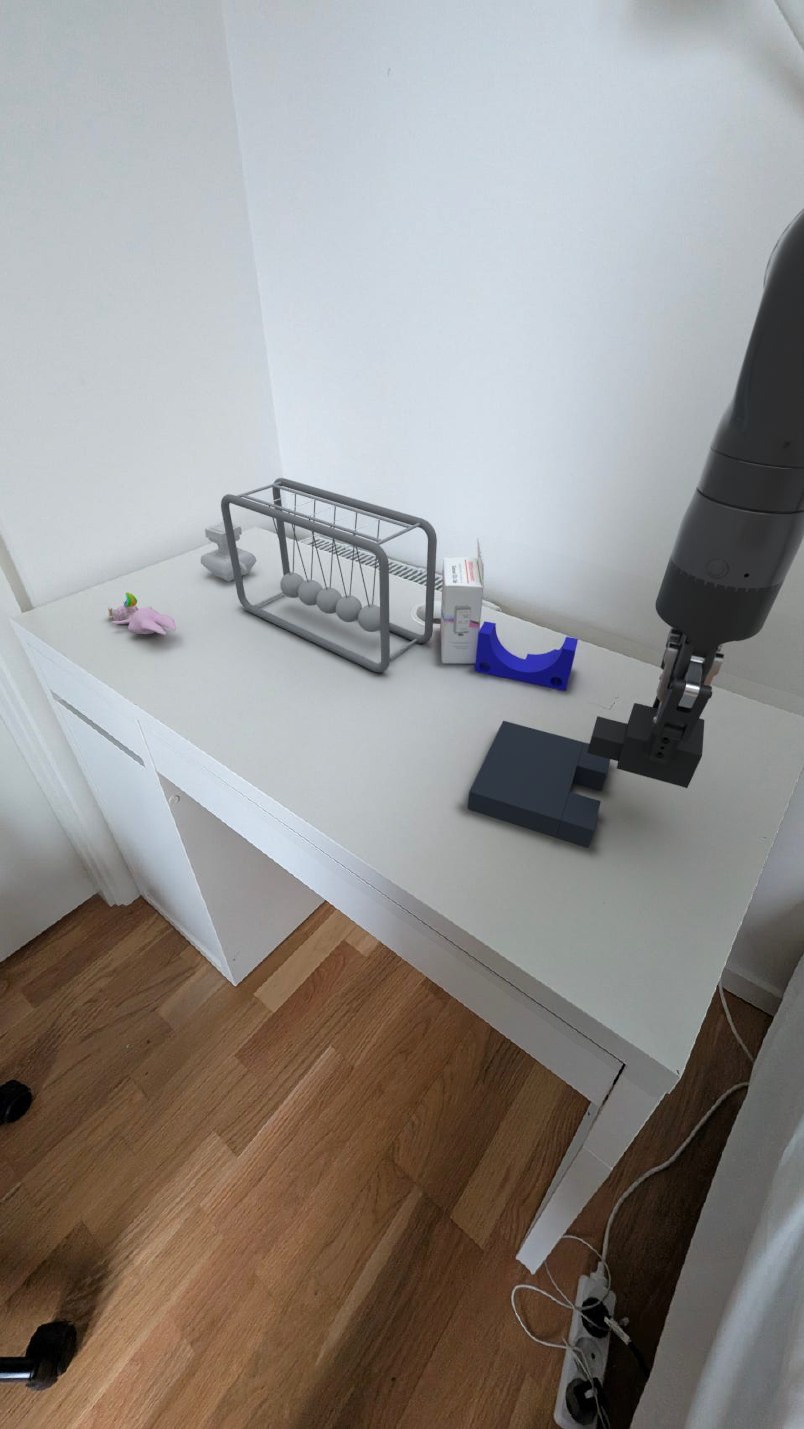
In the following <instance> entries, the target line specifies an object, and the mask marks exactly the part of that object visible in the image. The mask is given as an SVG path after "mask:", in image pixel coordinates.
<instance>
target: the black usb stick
mask: <svg viewBox="0 0 804 1429" xmlns="http://www.w3.org/2000/svg"><path fill="white" fill-rule="evenodd" d="M657 710H658V708H654V707H653V706H650V705H646V704H642V703H637V702H634V703H633V705H632V708H631V712H630V715H629V718H628V721H627V723H626V722H622V721H618V720H614V719H611V718H606V717H602V716H598V715H597V716H596V719H595V723H594V726H593V729H592V733H591V737H590V740H589V747H588V751H587V753H589V754H593V755H596V756H600V757H604V758H607V759H610V761H615V762H617V764H616V769H617V770H620V771H624V772H627V773H630V774H634V775H638V776H643V777H646V778H649V779H653V780H655V781H660V782H663V783H667V784H671V785H674V786H678V787H682V788H685V789H688V788H689V786H690V783H691V781H692V779H693V777H694V775H695V772H696V771H697V768H698V766H699V764H700V762H701V759H702V757H703V752H704V750H703V749H704V736H705V735H704V734H705V720H706V719H704V718H701V717H700V718H699V719H698V721H697V723H696V725H695V727H694V729H693V731H692V734H691V737H690V738H689V739H688V741H687V742H683V741H679V744H678V746H677V748H676V751H675V753H674V755H673V758H672V760H671V762H670V764H668V765H663V764H659V763H655V762H652V761H648V760H646V759H645V758H644V757H643V754H644V749H645V747H646V744H647V741H648V738H649V736H650V733H651V730H652V728H653V724H654V722H652V721H653V718H654V716H655V717H656V714H657Z"/></svg>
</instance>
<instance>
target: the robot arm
mask: <svg viewBox="0 0 804 1429" xmlns="http://www.w3.org/2000/svg"><path fill="white" fill-rule="evenodd" d="M761 294H762V295H761V298H760V301H759V305H758V309H757V311H756V315H755V320H754V322H753V326H752V329H751V333H750V336H749V340H748V343H747V346H746V349H745V353H744V356H743V360H742V363H741V367H740V370H739V374H738V377H737V379H736V384H735V388H734V391H733V394H732V397H731V399H730V400H729V402H728V403H727V405H726V407H725V409H724V410H723V412H722V414H721V416H720V418H719V421H718V423H717V426H716V428H715V430H714V433H713V436H712V438H711V439H712V440H711V442H710V445H709V447H708V450H707V453H706V456H705V460H704V462H703V466H702V469H701V472H700V475H699V477H698V478H699V479H698V481H697V485H696V488H695V490H694V493H693V495H692V497H691V499H690V502H689V504H688V505H687V508H686V510H685V512H684V514H683V516H682V519H681V522H680V525H679V528H678V530H677V535H676V538H675V540H674V544H673V545H672V546H673V547H672V550H671V553H670V556H669V558H668V562H667V564H666V568H665V573H664V574H663V578H662V580H661V584H660V587H659V591H658V594H657V598H656V600H655V611H656V614H657V615H658V616H659V618H660V619H661V620H662V621H663V622H664V623H665V624H666V625H668V626H669V627H670V629H669V631H668V635H667V638H666V642H665V650H664V652H663V655H662V659H661V663H660V669H661V670H662V673H660V675H659V678H658V680H659V683H658V686H657V689H656V696H655V699H654V702H653V703H652V707H654V708H658V710H657V714H656V717H655V716H654V718H653V721H652V722H654V724H653V728H652V730H651V733H650V736H649V738H648V741H647V744H646V747H645V749H644V754H643V757H644V758H645V759H646V760H648V761H652V762H655V763H659V764H663V765H668V764H670V762H671V760H672V758H673V755H674V753H675V751H676V748H677V746H678V744H679V741H683V742H687V741H688V739H689V738H690V737H691V734H692V731H693V729H694V727H695V725H696V723H697V721H698V719H699V718H700V719H701V715H703V714H702V713H703V712H704V709H705V708H706V706H707V704H708V702H709V701H710V699H712V696H713V691H712V689H713V686H711V685H712V682H713V679H714V677H715V676H717V675H719V673H720V671H721V668H722V666H723V662H724V659H725V653H724V652H721V650H722V649H723V646H724V644H726V643H732V642H740V641H741V642H742V641H745V640H749V639H750V638H753V637H754V636H756V635H758V634H759V633H760V632H761V631H762V629H763V627H764V625H765V623H766V621H767V618H768V616H769V614H770V612H771V610H772V608H773V606H774V604H775V601H776V600H777V598H778V596H779V593H780V590H781V588H782V587H783V584H784V582H785V580H786V578H787V575H788V573H789V571H790V570H791V567H792V564H793V562H794V560H795V559H796V557H797V554H798V552H799V549H800V547H801V544H802V542H803V539H804V207H803V208H802V209H801V210H800V211H799V212H798V213H797V214H796V216H794V217H793V219H792V220H791V221H790V222H789V223H788V225H787V226H786V227H785V228H784V230H783V231H782V233H781V235H780V236H779V238H778V239H777V241H776V243H775V245H774V246H773V248H772V251H771V252H770V255H769V258H768V260H767V263H766V266H765V270H764V276H763V284H762V293H761Z"/></svg>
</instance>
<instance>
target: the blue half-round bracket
mask: <svg viewBox="0 0 804 1429" xmlns="http://www.w3.org/2000/svg"><path fill="white" fill-rule="evenodd" d="M496 625H497V623H496V622H491V621H486V620H485V621H483V623H482V624H481V626H480V630H479V633H478V643H477V653H476V663H474V664H475V665H474V672H476V673H479V674H480V673H482V674H484V675H490V676H494V677H499V678H503V679H508V680H513V681H518V682H522V683H527V684H531V685H536V686H541V687H545V688H550V689H555V690H559V691H564V692H566V691H567V687H568V684H569V680H570V676H571V674H572V669H573V665H574V661H575V655H576V650H577V646H578V641H579V638H575V637H570V636H565V639H564V641H563V643H562V645H561V646H560V648H559V649H556V648H555V649H552V650H550V651H547V652H544V653H539V654H535V653H527V654H526V657H525V659H524V658H521V657H518V656H516V655H514V654H513V653H512V652H510V651H509V650H508V649H506V648H505V647H504V646H503V644H502V643H501V641H500V640H499V637H498V634H497V628H496V627H497V626H496Z"/></svg>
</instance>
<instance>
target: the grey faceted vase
mask: <svg viewBox="0 0 804 1429" xmlns="http://www.w3.org/2000/svg"><path fill="white" fill-rule="evenodd" d="M232 525H233V531H234V536H235V542H238V541H240V539H241V537H240V536H241V535H243V533H242V526H241V525H239V524H235V523H232ZM204 534H205V535H204V536H205V538H207V539H208V541H209V542H212V543H214V544H216V545H217V549H215V550H211V551H210V552H207V553H205V554H202V555H201V556H200V564H201V565H202V566H203V567H204V568H206V569H207V571H209V572H210V573H211V574H212V575H214V576H216V577H218V578H220V579H223V580H225V581H227V582H231V581H233V580H235V579H234V574H233V568H232V563H231V558H230V553H229V547H228V542H227V537H226V532H225V526H224V521H221V522H220V523H217V524H214V525H211V526H209V527H206V528H204ZM237 553H238V558H239V564H240V569H241V575H242V576H245V575H247V574H249V573H250V572H251V570H252V569H253V567H254V566H255V564H256V562H257V557H256V556H255V554H253V553H252V552H249V551H247V550H244V549H242V548H239V547H237Z"/></svg>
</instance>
